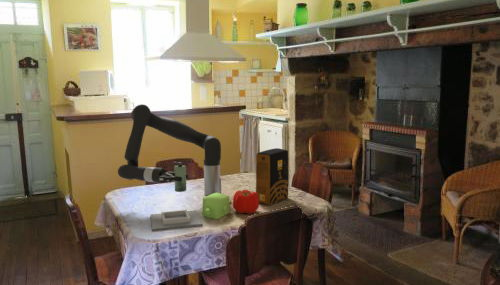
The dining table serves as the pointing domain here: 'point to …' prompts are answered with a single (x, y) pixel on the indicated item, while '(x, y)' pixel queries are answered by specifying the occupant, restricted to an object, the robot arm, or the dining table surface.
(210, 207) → the gearbox
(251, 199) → the tomato
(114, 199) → the dining table surface
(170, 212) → the pad
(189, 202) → the dining table surface
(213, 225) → the dining table surface
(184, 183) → the spout can
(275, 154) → the black and gold box
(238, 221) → the dining table surface
